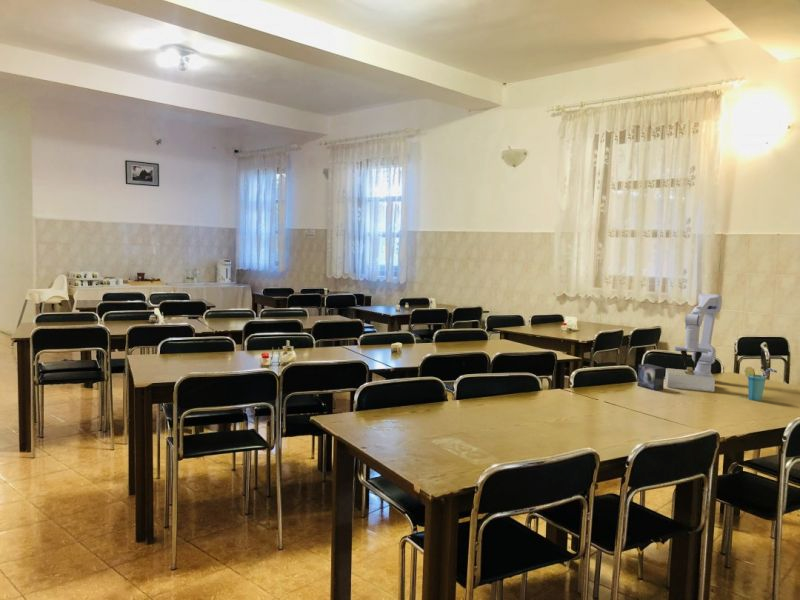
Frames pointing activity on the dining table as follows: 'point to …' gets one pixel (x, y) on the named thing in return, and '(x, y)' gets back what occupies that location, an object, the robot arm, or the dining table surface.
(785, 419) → the dining table surface
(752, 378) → the cup
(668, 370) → the cash box
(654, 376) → the small box
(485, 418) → the dining table surface
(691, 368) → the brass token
